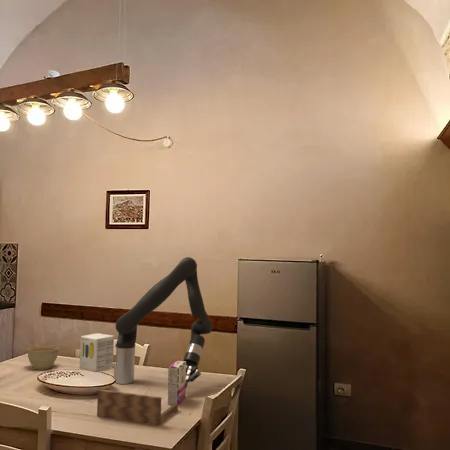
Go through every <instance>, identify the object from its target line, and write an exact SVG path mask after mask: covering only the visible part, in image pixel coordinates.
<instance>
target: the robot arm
mask: <svg viewBox="0 0 450 450" xmlns="http://www.w3.org/2000/svg"><path fill="white" fill-rule="evenodd" d="M197 263H198V262H196V260H195V259H194V258H192V257H189V256H186V257H183V258H182V259H181V260H180V261H179V262H178V263H177V265H176V266H175V267H174V268H173V270H171V272H170V273H169V274H167V275H166V276H165V277H163V278H162V279H160V280H159V281H158V282H156V284H154V285H153V286H152V287H151V288H150V289H148V291H147V292H146V293H144V295H142V296H141V298H140V299H139V300H138V301H137V302H136V304H134V306H133V307H131V309H129V310H128V311H127V312H125V313H124V314H123V315H121V316H119V318H118V319H117V320H116V322H115V330H116V331H117V332H118V336H117V340H116V350H115V362H113V379H114V378H115V379H116V382H115V384H120V385H126V384H127V385H129V384H133V383H134V382H135V363H136V362H135V360H136V359H135V357H136V342H137V333H138V324H139V323H140V322H141V321H142V320H143V319H144V318H145V317H146V316H147V315H149V314H150V313H152V312H154V310H156V309H157V308H159V306H161V305H162V304H164V302H165V301H166V300H167V299H169V297H170V296H171V295H172V294H173V292H174V291H175V290H176V289H177V288H178V287H179V286H180V285H181V284H182V283H184V282H185V285H186V289H187V299H188V304H189V308H190V313H191V315H192V317H194V318H198V319H199V320H195V321H194V322H192V324H191V326H190V340H189V343H188V347H187V349H185V350H186V352H185V353H184V356H183V358H182V359H183V360H182V361H186V389H187V388H188V387H187V386H188V383H190V382H191V383H193V382H194V381H195V380H196V379H197V378H199V377H200V376H201V375H202V373H201V370H199V365H200V362H201V361H200V360H201V358H202V354H203V349H204V346H205V341H206V340H205V337H204V336H203V335H207V334H211V332H212V331H213V323H212V320H211V318H210V317H209V315H208V312H207V311H206V309H205V304H204V300H203V296H202V292H201V289H200V285H199V280H198V279H199V278H198V264H197Z"/></svg>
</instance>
